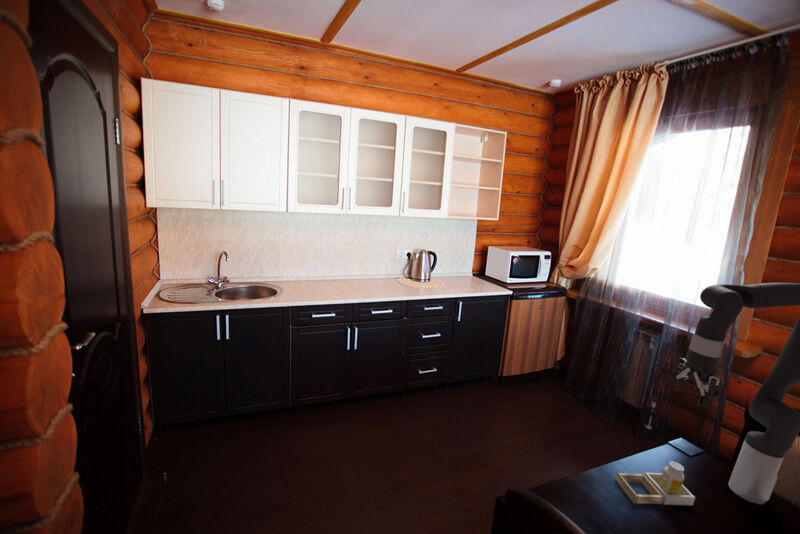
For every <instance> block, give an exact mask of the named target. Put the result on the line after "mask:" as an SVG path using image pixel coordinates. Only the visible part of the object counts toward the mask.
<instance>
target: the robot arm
mask: <svg viewBox="0 0 800 534" xmlns="http://www.w3.org/2000/svg"><path fill="white" fill-rule="evenodd" d="M699 298H700V301H701V302H702V304H703V305H704V306H706V307H707V308H710V309H712V312H711V314H710V315H703V316H700V318H699V319H698V322H697V324H696V328H695V332H694V334H693V335H692V338H691V342H690V344H689V347H688V350H687V353H686V356H685V358H684V357H677V360H676V361H675V365H674V368H673V370H672V374H673V375H675V376H676V383H675V385H674V386H675V388H674V389H675V390H676V391H677V392H683V391H684V389H685V385H686V382H687V381H686V380H687V379H690V380H692V381H693V382H694V383H696V384H697V385H696V386H697V388H699V390H700V394H699V397H698V400H697V403H696V405H697V406H698V407H701V408H702V407H703V408H705V407H706V406H708V404H709V401H710V398H713V399H715V398H716V399H717V398H718V397H719V394H720V390H721V388H722V387H721V386H722V383H723V380H722V378H717V377H715V376H713V372H714V371H715V370H716V369H717V367H718V364H719V361H720V358H721V355H722V352H723V349H724V343H725V339H726V336H727V334H728V331H729V328H730V326H732V325H733V324H734V322H735V321H736V319H737V318H738V317H739V315H740V314H741V312H742V310H743V308H747V309H753V310H754V309H767V308H777V307H778V308H779V307H789V306H790V307H793V306H794V307H796V306H800V283H798V282H797V283H796V282H795V283H794V282H765V283H762V282H761V283H753V284H725V283H724V284H723V283H722V284H721V283H720V284H714V285H709V286H707V287H705V288H704V289H703V290H702V291H701V293H700V296H699ZM799 383H800V315H799V316H798V317H797V321H796V322H795V325H794V326H793V329H792V331H791V333H790V335H789V336H788V338H787V340H786V341H785V344H784V345H783V347H782V348H781V351H780V353H779V356H778V358H777V359H776V362H775V364H774V365H773V367H772V369H771V370H770V373H768V376H767V378H766V379H765V381H764V382H763V384H762V385H761V386H760V388H759V389H758V390H757V392H756V393H755V395H754V396H753V397H752V399H751V402H750V403H749V407H748V413H749V415H750V417H751V418H752V419H753V420H755V421H756V422H758V423H759V424H760V425H762V426H763V427H765V428H766V430H765V431H764V432H762V431H756V430H754V431H753V430H751V431H748V432H747V433H746V436H745V438H744V440H743V443H742V446H741V449H740V451H739V454H738V457H737V459H736V461H735V465H734V467H733V469H732V472H731V475H730V477H729V478H730V479H729V481H728V482H727V483H728V485H727V486H729V488H730V490H731V491H732V492H733V493H734V494H736V495H737V496H738V497H740V498H741V499H743V500H746V501H747V502H750V503H753V504H755V503H756V505H764V504H766V502H769V500H770V498H771V495H772V493H773V491H774V488H775V485H776V484H777V481H778V478H779V476H778V473H779V470H780V468H781V466H782V463H783V460H784V458H785V455H786V453H788V452H789V450H790V449H791V448H792V447H793V445H794V444H795V441H796V439H797V437H798V436H799V433H800V412H799V411H798V410H797V409H795V408H794V407H792V406H790V405H789V404H787V403H786V402H784V401H783V400H784V398H785V396H786V394H787V393H788V391H789V390H790V388H792V387H793V386H795V385H796V384H799Z"/></svg>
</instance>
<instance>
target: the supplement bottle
mask: <svg viewBox="0 0 800 534" xmlns="http://www.w3.org/2000/svg"><path fill="white" fill-rule="evenodd" d="M661 473H662V475H661V478H660V481H659V484H658V485H659V486H660V487H661V488H662V490H663V491H664V492H665V493H666V494H667V495H679V492H680V490H681V487H682V484H683V483H684V481H685V475H684V473H685V467H684V466H683V465H682V464H680V463H678V462H677V461H673V460H671V461H668V464H667V466H664V468H663V470H662V472H661ZM683 485H684V484H683Z"/></svg>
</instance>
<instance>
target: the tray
mask: <svg viewBox="0 0 800 534" xmlns="http://www.w3.org/2000/svg"><path fill="white" fill-rule="evenodd" d="M662 473H663V472H644V473H643V474H644V475H645V476H646V477H647V478H648V479H649V481H650V482H651V483H652V484H653V485H654V486H655V487H656V488H657V490H658V491H659V492H660V493H661V494H662V495H663V496H664V500H663V503H662V505H665V506H670V505H671V506H693V505H694V502H695V500H696V496H695V495H693V494H692V492H690V490H689V489H688V488H687V487H686V486H685V485H684V484H682V487H681V490H680V492H679V495H667V494H666V493H665V492H664V491H663V490H662V488H661V487H660V486H659V485H658V484H659V481H660V478H661V475H662Z"/></svg>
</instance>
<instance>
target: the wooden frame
mask: <svg viewBox="0 0 800 534" xmlns="http://www.w3.org/2000/svg"><path fill="white" fill-rule="evenodd" d="M644 474H645V473H631V472H630V473H629V472H626V473H624V472H617V473H616V476H615V481H616V482H617V483H618V485H619V486H620V487H621V488H622V490H623V491H624V492H625V493H626V495H627V496H628V497H629V498H630V500H631V501H632V503H633V504H648V505H663V500H664V496H663V495H662V494H661V493H660V492H659V491H658V490H657V488H656V487H655V486H654V485H653V484H652V483H651V482H650V481H649V479H648V478H647V477H646V476H645V475H644ZM629 483H641V485H643V486H644V488H645V489H646V490H647V491H648V492H649V494H640V493H639V494H638V493H636V491H635V490H634V489H633V488H632V486H631V485H630V484H629Z"/></svg>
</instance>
